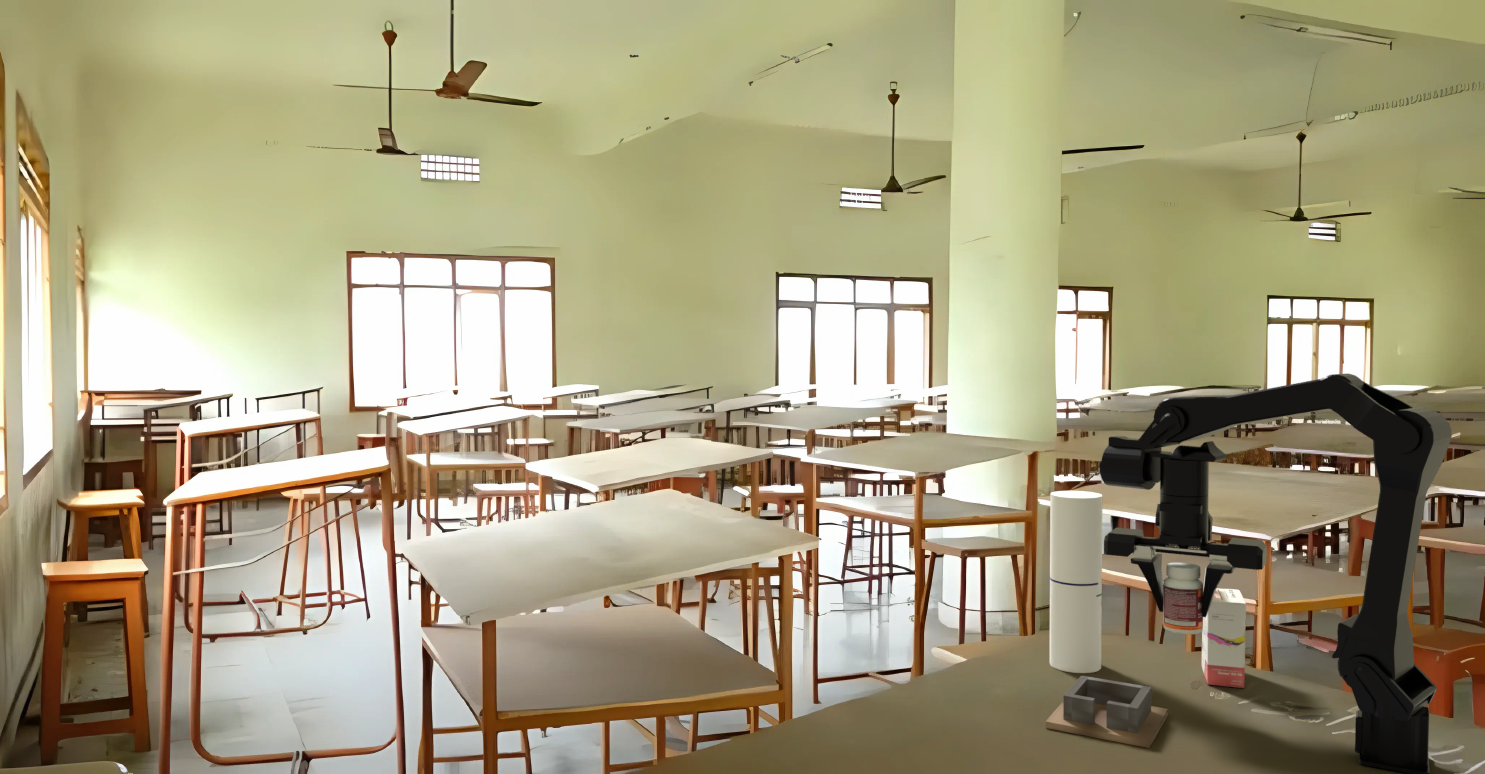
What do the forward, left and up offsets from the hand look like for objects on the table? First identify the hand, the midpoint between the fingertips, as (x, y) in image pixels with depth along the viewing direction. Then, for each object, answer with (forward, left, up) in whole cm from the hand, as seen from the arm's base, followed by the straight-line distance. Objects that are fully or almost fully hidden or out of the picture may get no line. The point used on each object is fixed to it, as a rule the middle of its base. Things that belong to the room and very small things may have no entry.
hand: (1182, 613), depth 131 cm
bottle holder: (+7, +11, -12) cm, 17 cm away
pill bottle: (0, 0, -2) cm, 2 cm away
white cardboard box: (-3, -14, -12) cm, 19 cm away
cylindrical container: (+16, -9, -12) cm, 22 cm away
